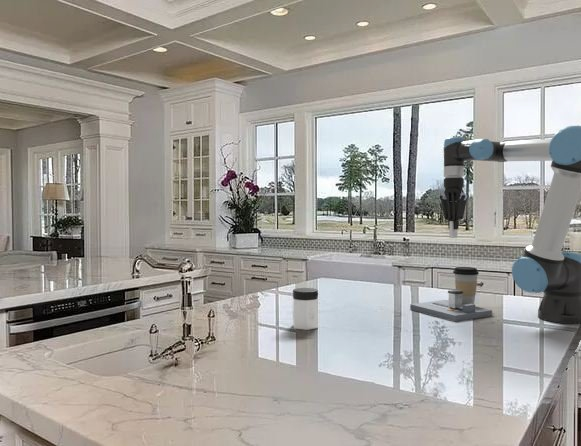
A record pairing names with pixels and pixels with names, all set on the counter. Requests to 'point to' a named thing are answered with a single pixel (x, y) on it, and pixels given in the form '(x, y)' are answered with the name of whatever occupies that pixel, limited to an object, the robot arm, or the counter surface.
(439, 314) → the console
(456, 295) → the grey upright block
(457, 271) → the coffee cup
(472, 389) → the counter surface
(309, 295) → the jar
